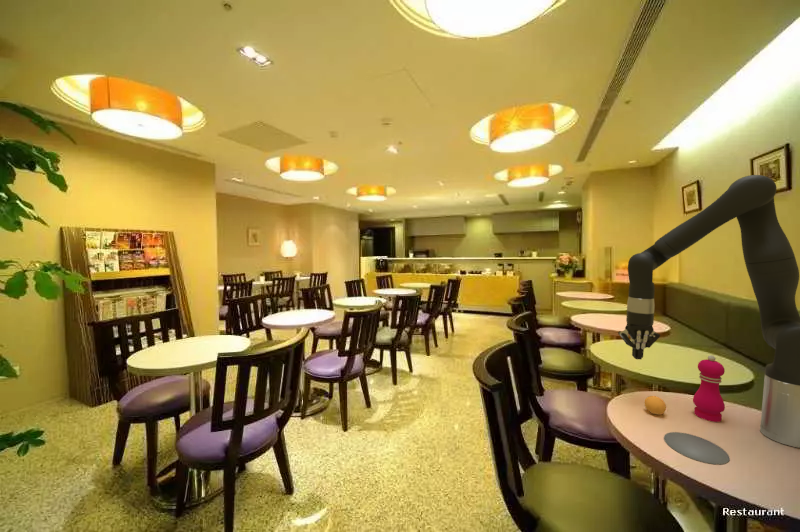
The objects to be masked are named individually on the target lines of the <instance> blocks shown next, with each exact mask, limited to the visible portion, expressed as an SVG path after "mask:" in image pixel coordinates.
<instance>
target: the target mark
mask: <svg viewBox="0 0 800 532" xmlns="http://www.w3.org/2000/svg"><path fill="white" fill-rule="evenodd" d="M663 436H664V437H663V440H664V442H665V444H666V445H667V446H668V447H670V448H671V449H672V450H673V451H674V452H677V453H678V454H680V455H682V456H685V457H687V458H689V459H692V460H694V461H698V462H700V463H705V464H709V465H710V464H711V465H716V464H719V465H725V464H728V463H729V462H730V456H729V453H728V452H726V451H725V450H724V449H723V448H722V447H721V446H719V445H717V444H716V443H713V442H712V441H711V440H708V439H705V438H702V437H700V436H698V435H693V434H691V433H686V432H677V431H675V432H674V431H671V432H667V433H666V434H664V435H663Z"/></svg>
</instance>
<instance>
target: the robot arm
mask: <svg viewBox="0 0 800 532" xmlns="http://www.w3.org/2000/svg"><path fill="white" fill-rule="evenodd" d="M777 189H778V188H777V184H776V182H775V180H773V179H772V178H770V177H769V176H765V175H761V174H753V175H752V174H751V175H746V176H743V177H740V178H738V179H737V180H735V181H734V182H733V183H731V184H730V185H729V187H728V189H727V190H726V191H724V192H723V193H722V194H720V196H719V197H718V198H716V200H714V201H713V202H712V203H711V204H709V205H708V206H706V207H705V208H704V209H703V210H701V211H699V212H698V213H697V214H695V215H694V216H692V217H690V218H689V219H687V220H685V221H683V222H682V223H680V224H678V225H677V226H676V227H674V228H672V229H671V230H670V231H668V232H667V233H665V234H663V235H662V236H661V237H660V238H658V239H657V240H656V241H655V242H654V243H653V244H652V245H650V246H649V247H648V248H646V249H644V250H643V251H641V252H640V253H639V252H638V253H635V254H633V255H632V256H631V257H630V258H629V259H628V263H627V275H628V281H629V285H628V297H627V302H626V303H627V305H626V325H625V327H624V330H622V331H620V330H619V331H618V332H617V334H618V336H620V338H621V339H622V340H623V342H624V343H625V344H626V346H628V347H631V348H632V349H631V351H632V352H631V356H632V357H633V358H634V359H635V360H642V359H644V352H645V351H644V350H645V349H647V348H648V349H650V348H651V347H652V346H653V344H655V343H656V341H658V339H659V338H660V337H661V334H660V333H657V332H656V331H654V327H653V325H654V322H655V321H654V320H655V319H654V318H655V307H656V306H655V289H656V288H655V283H654V281H653V276H654V273H653V272H654V271H655V270H657V269H658V268H659V267H661V266H662V265H663V264H665V263H666V262H668V261H669V260H670V259H672V258H673V257H675V256H677V255H680V254H681V253H682V252H683V251H686V250H688V249H689V248H690V247H692V246H693V245H694V244H696V243H698V242H699V241H700V240H702V239H703V238H705V237H706V236H707V235H709V234H711V233H712V232H713V231H715V230H716V229H718V228H719V227H721V226H723V225H725V224H726V223H728V222H729V221H732V220H733V219H735V218H736V219H737V222H738V225H739V229H740V236H741V237H740V238H741V248H742V255H743V260H744V265H745V267H746V271H747V274H748V277H749V279H750V283H751V284H750V285H751V287H752V290H753V294H754V296H755V299H756V301H757V306H758V310H759V318H760V326H761V328H760V329H761V334H762V337H763V340H764V341H765V342H766V344H767V345H768V346H769V347H771V348H772V349H774V357H773V361H772V362H771V363H767V364H766V365H765V369H764V381H763V390H762V391H763V392H762V403H761V404H762V405H761V413H760V414H761V417H760V425H759V427H760V429H759V431H760V433H761V434H762V435H763V436H764V437H766V438H769V439H771V440H772V441H774V442H777V443H780V444H783V445H785V446H789V447H794V448H799V449H800V313H799V310H798V308H797V304H796V294H797V290H798V286H799V281H800V270H799V266H798V263H797V262H798V261H797V258H796V256H795V253H794V250H793V248H792V247H793V246H792V245H791V243H790V241H789V238H788V236H787V235H786V233H785V232H784V229H783V228H782V227H781V224H780V222H779V220H778V216H777V211H776V205H775V196H776V193H777ZM629 337H630V338H629Z"/></svg>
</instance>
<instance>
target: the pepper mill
mask: <svg viewBox="0 0 800 532" xmlns="http://www.w3.org/2000/svg"><path fill="white" fill-rule="evenodd" d="M716 360H717V359H716V357H715V356H714V355H710V354H709V355H708V356H707V358H706V359H701V360H700V361H699V362H698V363H697V369H698V371H699V372H700V373H699V376H698V378H699V379H700V385H699V387H698V389H697V390H696V392H695V393H694V395H693V399H692V402H693V404H694V405H695V407H694V409H693V410H694V411H693V414H694V415H695V416H697V417H698V418H699V419H701V420H705V421H708V422H711V423H712V422H714V423H719V422H722V418H723V415H722V413H723V412H724V411H725V409H726V407H725V401H724V399H723V397H722V396H721V391H720V384H721V383H722V376H723V375H724V374H725V367H724V365H723V364H722V363H720V362H718V361H716Z"/></svg>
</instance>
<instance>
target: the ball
mask: <svg viewBox="0 0 800 532" xmlns="http://www.w3.org/2000/svg"><path fill="white" fill-rule="evenodd" d="M643 403H644V406H645V409H646V410H647V411H648V412H650V413H651V414H653V415H662V414H664V413H665V412H666V410H667V405H666V402H665V401H664V400H663V399H662V398H661V397H659V396H656V395H650V396H648V397H646V398H645V399H644V402H643Z"/></svg>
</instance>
